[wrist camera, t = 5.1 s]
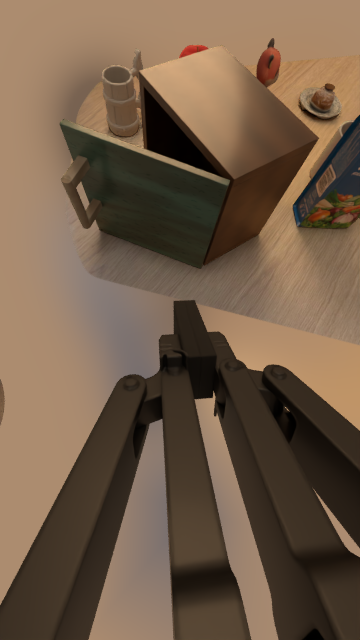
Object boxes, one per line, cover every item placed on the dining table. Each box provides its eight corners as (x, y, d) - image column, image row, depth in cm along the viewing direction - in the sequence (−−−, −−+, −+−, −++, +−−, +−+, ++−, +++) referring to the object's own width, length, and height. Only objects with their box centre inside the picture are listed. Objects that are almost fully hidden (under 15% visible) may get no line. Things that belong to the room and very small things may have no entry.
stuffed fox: (222, 97, 64) (236, 32, 52) (262, 100, 64) (284, 37, 53) (225, 116, 61) (240, 53, 50) (266, 119, 62) (290, 58, 51)
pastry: (317, 126, 63) (329, 107, 59) (289, 99, 66) (298, 78, 61) (347, 113, 66) (360, 93, 61) (318, 87, 68) (329, 66, 64)
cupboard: (204, 265, 48) (234, 179, 28) (146, 189, 52) (138, 70, 33) (258, 234, 51) (319, 138, 32) (200, 165, 56) (222, 44, 36)
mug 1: (101, 124, 57) (86, 57, 45) (137, 104, 60) (132, 36, 49) (122, 142, 56) (112, 78, 44) (158, 121, 59) (157, 56, 47)
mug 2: (314, 190, 56) (345, 149, 47) (306, 163, 59) (334, 119, 49) (361, 191, 57) (400, 151, 48) (351, 164, 60) (387, 121, 50)
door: (191, 290, 46) (214, 218, 27) (87, 250, 46) (36, 151, 27) (202, 265, 48) (230, 180, 28) (101, 226, 48) (63, 118, 29)
